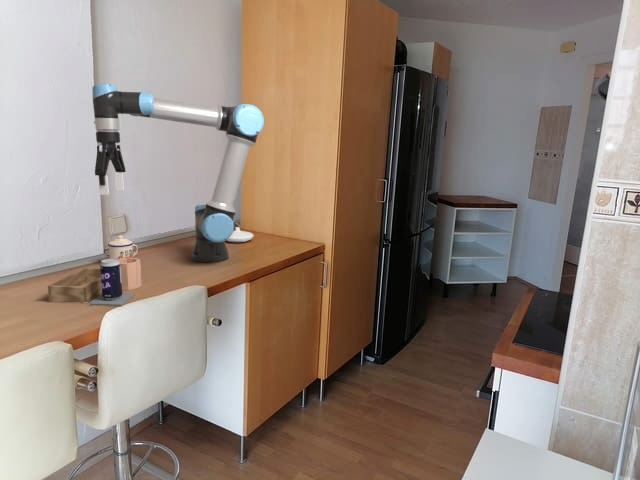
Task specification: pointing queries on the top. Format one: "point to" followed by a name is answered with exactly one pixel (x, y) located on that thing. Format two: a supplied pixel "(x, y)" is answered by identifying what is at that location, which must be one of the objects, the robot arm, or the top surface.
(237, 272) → the top surface
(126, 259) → the pot
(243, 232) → the white bowl
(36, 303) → the top surface
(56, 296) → the crate
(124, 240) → the teacup with lid
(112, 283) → the beverage can
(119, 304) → the coaster
